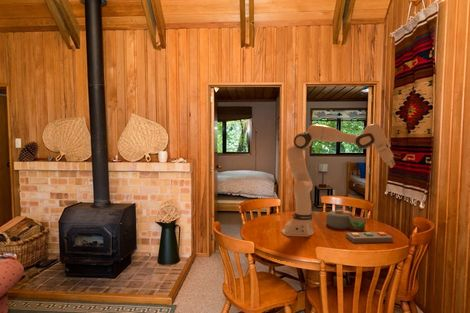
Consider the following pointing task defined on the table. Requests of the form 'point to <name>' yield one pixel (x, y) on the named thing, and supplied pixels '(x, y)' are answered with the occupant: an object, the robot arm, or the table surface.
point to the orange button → (381, 233)
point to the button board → (369, 238)
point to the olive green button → (368, 234)
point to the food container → (357, 223)
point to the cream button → (355, 234)
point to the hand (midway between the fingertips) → (393, 166)
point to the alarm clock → (339, 219)
